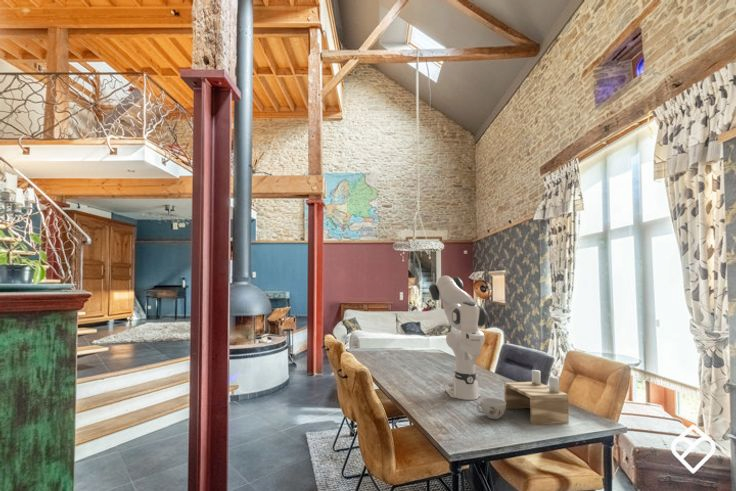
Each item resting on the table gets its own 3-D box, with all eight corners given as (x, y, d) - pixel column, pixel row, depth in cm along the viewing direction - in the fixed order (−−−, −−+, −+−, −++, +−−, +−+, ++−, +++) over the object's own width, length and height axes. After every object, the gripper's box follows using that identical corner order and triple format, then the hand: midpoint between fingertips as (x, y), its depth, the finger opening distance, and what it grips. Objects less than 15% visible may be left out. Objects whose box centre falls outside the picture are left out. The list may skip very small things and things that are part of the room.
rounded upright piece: (530, 383, 207) (529, 369, 208) (537, 382, 208) (537, 369, 209) (535, 385, 203) (535, 371, 204) (542, 385, 204) (542, 371, 204)
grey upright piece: (547, 390, 194) (547, 376, 194) (554, 390, 194) (554, 376, 195) (553, 393, 189) (552, 378, 190) (560, 392, 190) (560, 378, 191)
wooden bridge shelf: (504, 408, 206) (504, 382, 207) (537, 406, 210) (536, 381, 211) (532, 424, 182) (532, 395, 184) (568, 422, 187) (568, 394, 188)
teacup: (499, 412, 198) (499, 397, 199) (511, 421, 186) (511, 404, 187) (471, 413, 196) (471, 397, 197) (482, 422, 184) (482, 405, 185)
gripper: (456, 331, 203) (457, 358, 202) (470, 336, 183) (471, 366, 181) (468, 331, 204) (468, 358, 202) (483, 336, 183) (483, 366, 182)
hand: (469, 362), depth 192 cm, fingers open, 8 cm apart
